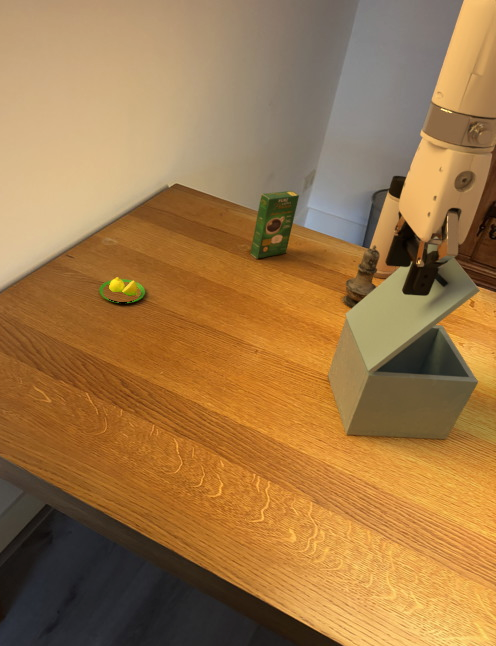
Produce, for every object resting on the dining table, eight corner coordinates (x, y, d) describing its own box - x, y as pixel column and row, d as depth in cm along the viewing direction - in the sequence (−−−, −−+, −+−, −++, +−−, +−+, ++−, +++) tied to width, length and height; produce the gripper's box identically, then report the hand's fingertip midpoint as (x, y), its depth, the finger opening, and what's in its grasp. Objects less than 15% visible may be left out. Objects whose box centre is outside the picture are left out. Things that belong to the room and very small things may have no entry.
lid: (439, 239, 71) (413, 212, 69) (480, 290, 62) (451, 261, 59) (348, 317, 79) (321, 295, 76) (371, 374, 69) (341, 351, 66)
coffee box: (279, 247, 118) (291, 188, 110) (287, 253, 116) (300, 194, 108) (249, 253, 114) (259, 193, 106) (257, 260, 113) (268, 198, 104)
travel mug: (358, 271, 114) (388, 176, 101) (369, 261, 118) (400, 169, 106) (386, 282, 111) (420, 187, 99) (397, 271, 116) (431, 178, 103)
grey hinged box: (416, 380, 87) (442, 325, 80) (446, 439, 77) (478, 381, 71) (327, 375, 86) (345, 318, 79) (345, 434, 76) (368, 375, 69)
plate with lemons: (150, 286, 100) (150, 273, 98) (137, 309, 94) (138, 295, 92) (107, 278, 100) (107, 265, 99) (92, 300, 94) (92, 286, 92)
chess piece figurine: (338, 305, 103) (355, 247, 95) (344, 291, 107) (361, 234, 99) (368, 314, 101) (389, 256, 94) (373, 299, 106) (393, 243, 98)
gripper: (537, 158, 50) (461, 320, 61) (463, 107, 63) (411, 248, 75) (459, 151, 49) (397, 317, 61) (400, 101, 62) (358, 244, 74)
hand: (405, 278), depth 67 cm, fingers closed on lid, 6 cm apart
